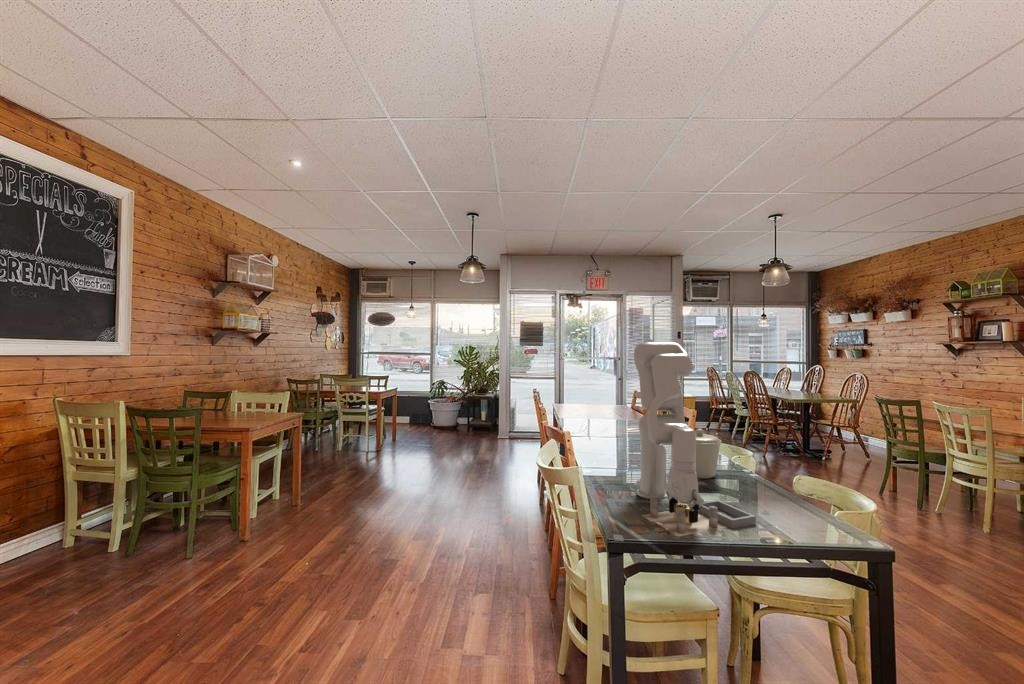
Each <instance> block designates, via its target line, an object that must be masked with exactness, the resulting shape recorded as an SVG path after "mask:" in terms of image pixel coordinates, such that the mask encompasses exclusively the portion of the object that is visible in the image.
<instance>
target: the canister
mask: <svg viewBox="0 0 1024 684" xmlns="http://www.w3.org/2000/svg"><path fill="white" fill-rule="evenodd" d="M694 431H695V433H696V471H695V472H696V473H697V479H702V480H703V479H704V480H705V479H712V478H714V477H715V475H716V473H717V469H718V468H717V467H718V463H719V455H720V445H721V444H722V440H721V439H720V438H719V437H717V436H715V435H712V434H707V433H705V431H704V429H702V428H697V429H695V430H694Z"/></svg>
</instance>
